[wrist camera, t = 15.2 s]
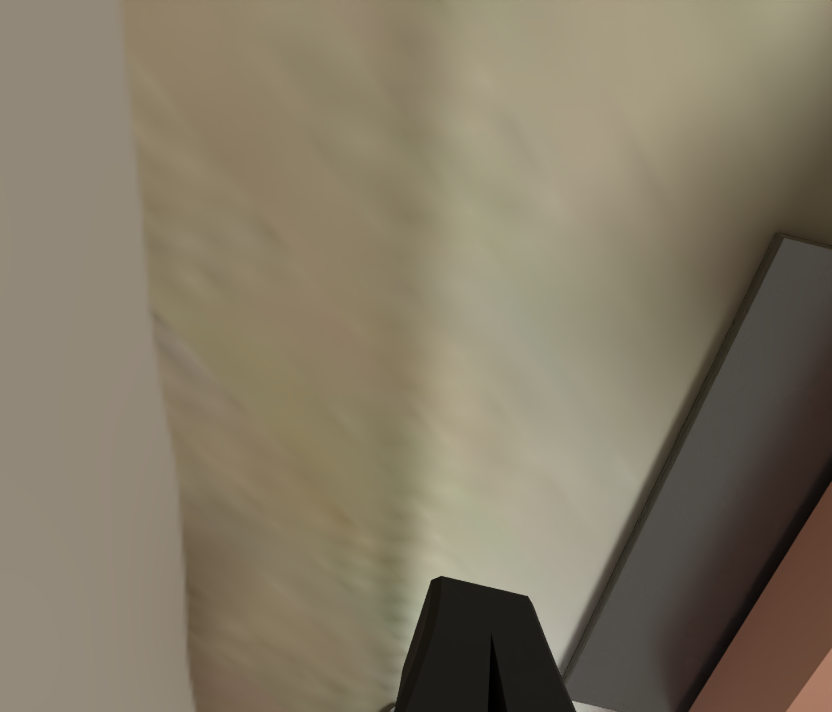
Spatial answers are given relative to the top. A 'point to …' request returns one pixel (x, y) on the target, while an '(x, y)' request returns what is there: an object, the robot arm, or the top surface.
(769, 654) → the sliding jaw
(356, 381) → the top surface
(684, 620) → the vise bed
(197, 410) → the top surface
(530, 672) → the robot arm
